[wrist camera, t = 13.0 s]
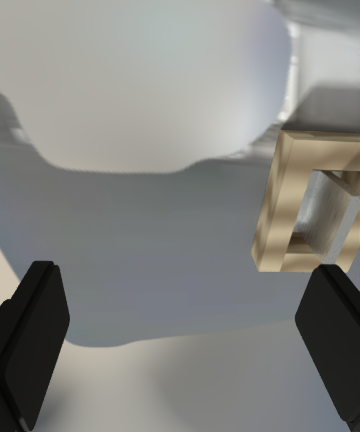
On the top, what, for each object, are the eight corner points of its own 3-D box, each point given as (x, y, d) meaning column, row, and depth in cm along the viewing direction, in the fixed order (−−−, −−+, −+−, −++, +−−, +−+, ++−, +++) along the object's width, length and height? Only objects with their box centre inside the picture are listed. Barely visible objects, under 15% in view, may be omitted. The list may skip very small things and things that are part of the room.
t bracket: (304, 167, 38) (337, 195, 31) (339, 168, 39) (379, 197, 32) (285, 228, 44) (310, 264, 36) (316, 229, 44) (346, 265, 37)
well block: (280, 129, 36) (294, 139, 32) (383, 134, 37) (409, 144, 33) (250, 252, 46) (258, 271, 42) (332, 253, 47) (347, 272, 43)
